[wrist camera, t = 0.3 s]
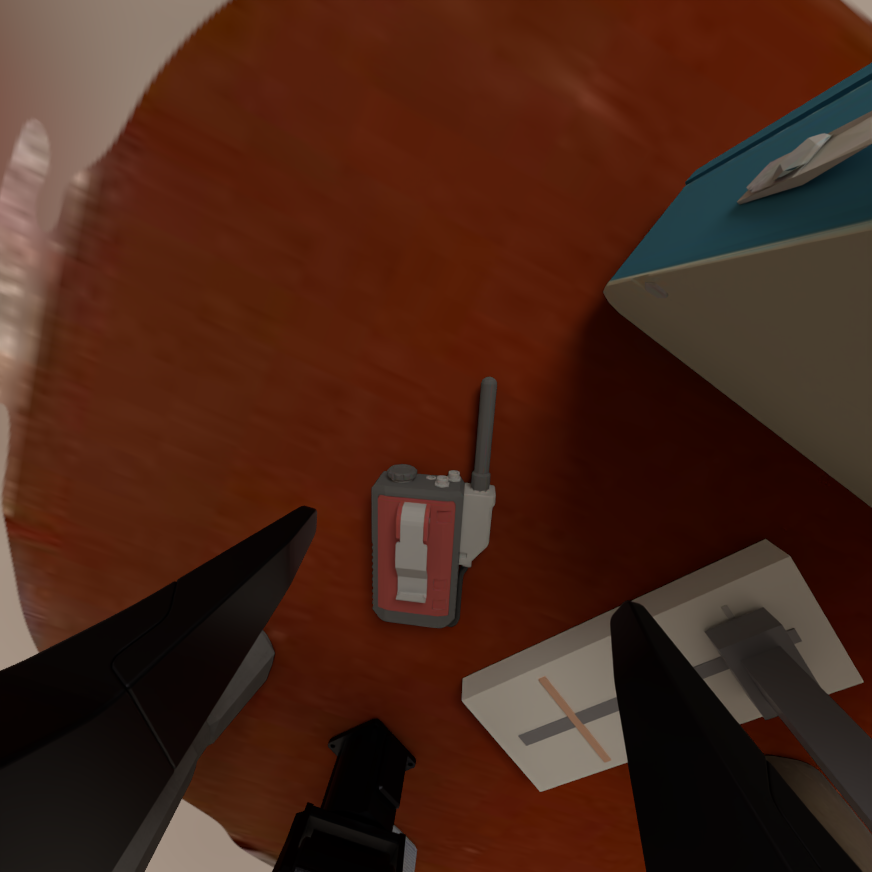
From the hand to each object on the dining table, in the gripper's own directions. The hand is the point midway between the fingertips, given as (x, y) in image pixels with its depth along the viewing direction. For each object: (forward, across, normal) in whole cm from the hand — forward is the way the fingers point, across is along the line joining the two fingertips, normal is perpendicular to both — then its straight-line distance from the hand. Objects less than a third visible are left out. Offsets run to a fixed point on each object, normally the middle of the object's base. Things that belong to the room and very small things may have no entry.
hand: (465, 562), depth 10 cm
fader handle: (+10, -24, +13) cm, 29 cm away
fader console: (+11, -19, +19) cm, 29 cm away
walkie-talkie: (+14, +1, +11) cm, 17 cm away
